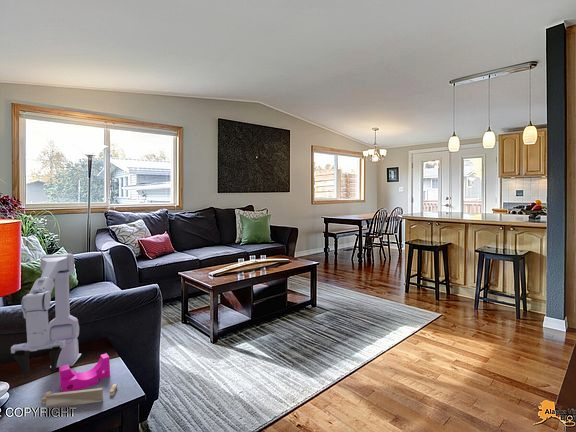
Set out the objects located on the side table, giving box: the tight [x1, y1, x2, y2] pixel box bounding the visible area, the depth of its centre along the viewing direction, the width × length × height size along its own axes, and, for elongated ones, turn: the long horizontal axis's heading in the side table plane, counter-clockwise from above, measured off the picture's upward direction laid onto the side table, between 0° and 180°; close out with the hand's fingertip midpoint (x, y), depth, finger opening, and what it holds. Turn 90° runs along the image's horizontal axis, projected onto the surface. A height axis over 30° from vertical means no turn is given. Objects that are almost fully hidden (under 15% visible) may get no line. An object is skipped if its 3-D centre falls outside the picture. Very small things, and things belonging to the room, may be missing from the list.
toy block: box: [58, 352, 111, 392], centre depth 122 cm, size 15×6×8 cm, turn 131°
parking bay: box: [40, 383, 118, 409], centre depth 114 cm, size 7×21×4 cm, turn 102°
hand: (40, 371), depth 111 cm, fingers open, 7 cm apart
